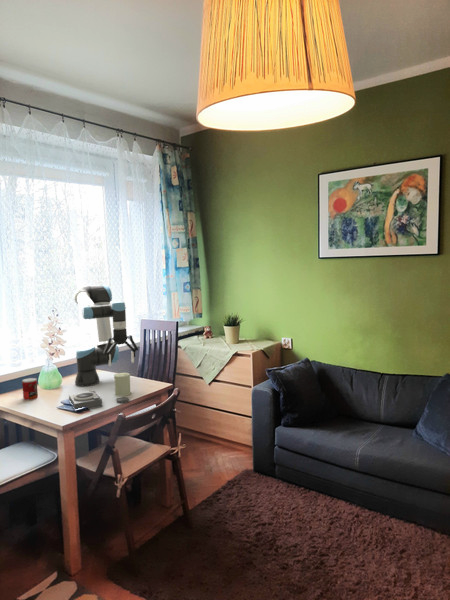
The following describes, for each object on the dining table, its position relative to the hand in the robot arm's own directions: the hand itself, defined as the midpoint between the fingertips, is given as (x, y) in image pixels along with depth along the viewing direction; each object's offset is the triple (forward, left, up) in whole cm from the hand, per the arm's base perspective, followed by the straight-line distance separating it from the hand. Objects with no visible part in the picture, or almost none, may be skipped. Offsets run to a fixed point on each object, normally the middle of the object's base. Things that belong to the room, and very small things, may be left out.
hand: (121, 364), depth 252 cm
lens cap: (+14, -4, -18) cm, 23 cm away
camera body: (+7, -23, -18) cm, 30 cm away
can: (0, 0, -18) cm, 18 cm away
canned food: (-23, -48, -18) cm, 56 cm away
